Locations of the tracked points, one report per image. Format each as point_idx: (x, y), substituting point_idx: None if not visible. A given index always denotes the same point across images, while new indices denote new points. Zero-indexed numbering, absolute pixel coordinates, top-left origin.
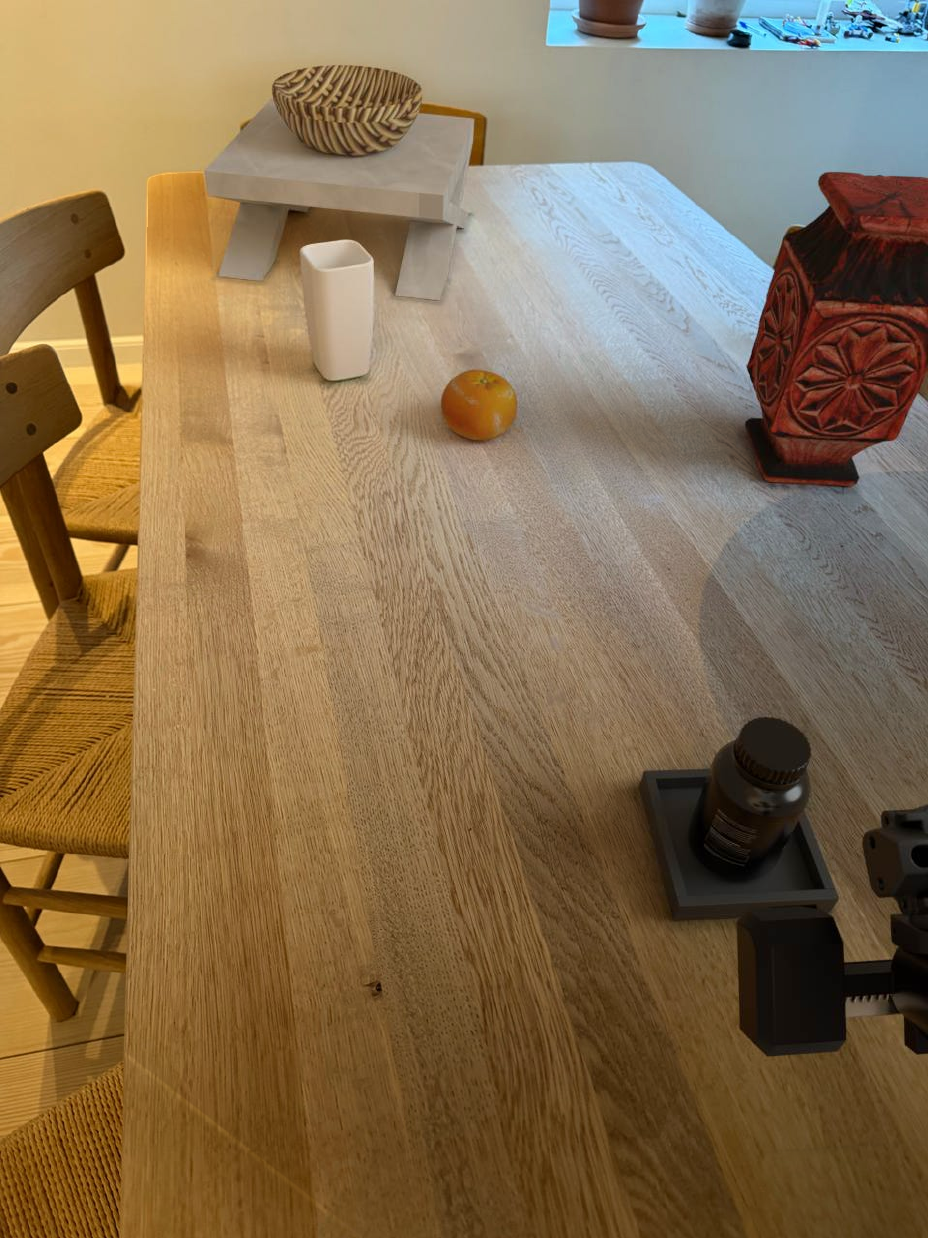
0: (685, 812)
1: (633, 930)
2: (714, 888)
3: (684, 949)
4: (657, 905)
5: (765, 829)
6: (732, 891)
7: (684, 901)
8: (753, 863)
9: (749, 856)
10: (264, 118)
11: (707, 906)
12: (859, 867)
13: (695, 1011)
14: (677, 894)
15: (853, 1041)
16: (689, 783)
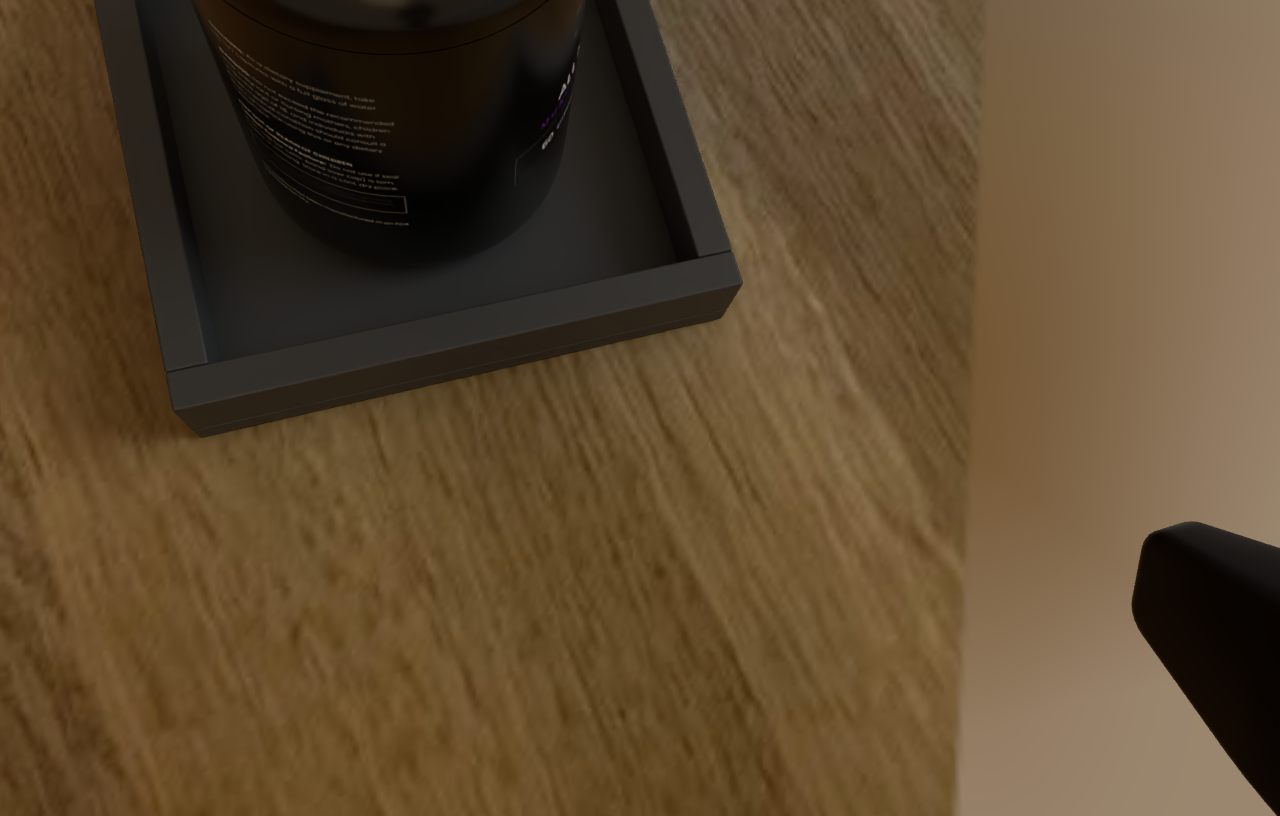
0: None
1: (52, 497)
2: (342, 302)
3: (236, 531)
4: (148, 389)
5: (409, 90)
6: (404, 302)
7: (194, 388)
8: (436, 214)
9: (408, 194)
10: None
11: (287, 388)
12: (815, 154)
13: (261, 750)
14: (169, 364)
15: (772, 730)
16: None
